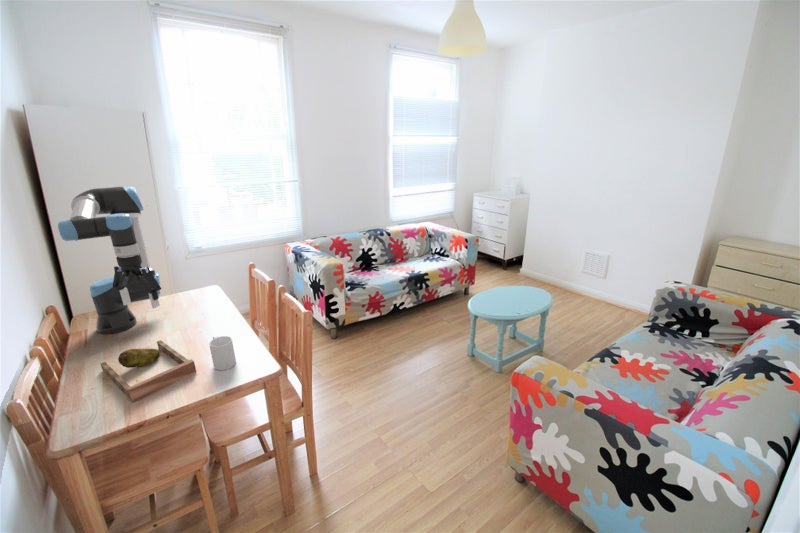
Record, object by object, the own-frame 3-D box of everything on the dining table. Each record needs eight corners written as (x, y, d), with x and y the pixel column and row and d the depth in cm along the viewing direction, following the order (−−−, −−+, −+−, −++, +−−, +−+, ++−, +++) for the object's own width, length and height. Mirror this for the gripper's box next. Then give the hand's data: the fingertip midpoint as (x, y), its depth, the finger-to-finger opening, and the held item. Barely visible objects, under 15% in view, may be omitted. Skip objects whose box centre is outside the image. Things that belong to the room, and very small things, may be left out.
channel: (102, 371, 141) (99, 360, 139) (162, 347, 157) (159, 337, 155) (133, 402, 124) (129, 390, 122) (196, 372, 140) (193, 361, 138)
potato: (162, 365, 145) (157, 347, 142) (121, 376, 138) (116, 358, 135) (160, 355, 151) (156, 338, 148) (122, 366, 144) (116, 348, 142)
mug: (239, 364, 144) (235, 341, 141) (218, 373, 139) (213, 349, 136) (228, 352, 153) (223, 330, 149) (207, 360, 147) (202, 337, 144)
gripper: (91, 255, 139) (107, 306, 146) (147, 260, 134) (160, 312, 141) (110, 249, 146) (124, 298, 153) (163, 253, 141) (175, 304, 148)
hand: (141, 305), depth 147 cm, fingers open, 13 cm apart
